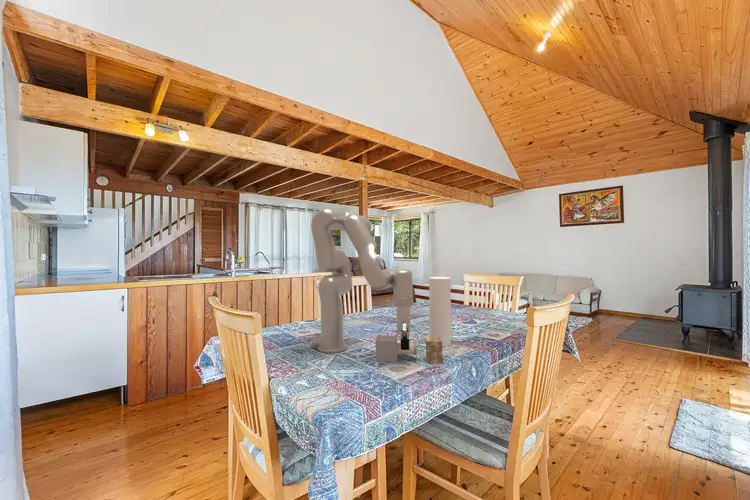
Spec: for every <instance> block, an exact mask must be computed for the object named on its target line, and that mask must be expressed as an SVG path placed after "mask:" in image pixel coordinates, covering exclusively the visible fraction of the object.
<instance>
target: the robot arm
mask: <svg viewBox="0 0 750 500" xmlns="http://www.w3.org/2000/svg"><path fill="white" fill-rule="evenodd" d="M310 228H311V235H312V237H313V238H312V239H313V242H314V243H313V244H314V250H315V256H316V262H317V267H318V269H319V270H320V271H321V272H323V273H331V274H330V275H327V276H324V277H322V278H321V279H320V281H319V283H318V286H317V288H318V296H319V302H320V337H319V338H313V337H312V338H311V343H312V345H317V351H319V352H321V353H325V354H326V353H327V354H335V353H341V352H344V351H346V350H348V344H347V343H345V342H344V306H343V300H342V298H341V296H343V295H346V294H348V293H350V292H351V289H352V288H353V287H352V286H353V279H352V272H351V268H350V262H349V259H348V256H347V254H346V252H344V251H342V250H339V249H336V246H335V245H336V244H335V239H334V237H333V235H332V232H331V230H340V231H345V233H346V235H347V237H348V238H349V240H350V242H351V243H352V245H353V247H354V249H355V250H356V251H355V252H357V254H358V262H359V266H360V267H359V268H360V270H361V272H362V274H363V276H364V278H365V280H366V282H367V283H368V285H369V286H370V288H372V289H374V290H375V291H382V290H385V289H389V288H393V307H396V330H397V331H396V332H397V334H399V333H400V343H401V350H409V343H410V336H409V334H410V333H411V318H412V317H411V316H412V315H411V307H413V306H414V289H413V288H414V287H413V286H414V285H413V272H412V271H411V270H410V269H390V268H385V269H382V268H381V267H380V265H379V264H378V262H377V259H376V254H375V252H376V249H377V242H376V240H375V239H374V237H373V235H372V234H371V230H372V222H371V221H370V219H369V218H368V217H366V216H364V215H360V214H355V213H351V212H347V211H344V210H339V209H336V208H335V209H333V208H322V209H320V210H318V211H317V212H316V213H315V214H314V215H313V216H312V219H311V224H310Z"/></svg>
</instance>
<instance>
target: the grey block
mask: <svg viewBox="0 0 750 500" xmlns="http://www.w3.org/2000/svg"><path fill="white" fill-rule="evenodd" d="M397 343H398V335H376V338H375V362H376V363H377V362H378V363H380V362H381V363H382V362H383V363H397V362H398V354H397Z"/></svg>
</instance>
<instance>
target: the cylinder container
mask: <svg viewBox="0 0 750 500" xmlns="http://www.w3.org/2000/svg"><path fill="white" fill-rule="evenodd" d="M451 281H452V280H451V277H450V276H448V277H447V276H443V275H442V276H440V275H439V276H438V275H437V276H431V277H429V278H428V282H429V283H428V288H429V289H428V294H429V295H428V296H429V297H428V299H429V300H428V301H429V305H428V306H429V308H428V309H429V313H428V314H429V315H428V316H429V317H428V318H429V336H440V337H441V340H442V348H444V347H449V346H451V344H452V319H451V318H452V317H451V316H452V312H451V311H452V308H451V307H452V299H451V296H452V295H451V292H452V291H451V290H452V289H451V287H452V285H451V283H452V282H451Z"/></svg>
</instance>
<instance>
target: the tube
mask: <svg viewBox="0 0 750 500" xmlns="http://www.w3.org/2000/svg"><path fill="white" fill-rule="evenodd" d="M417 347H418V346H417V342H413V343H412V342H409V350H401V342H397V355H411V356H413V355H414V356H417V351H418V350H417Z"/></svg>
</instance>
